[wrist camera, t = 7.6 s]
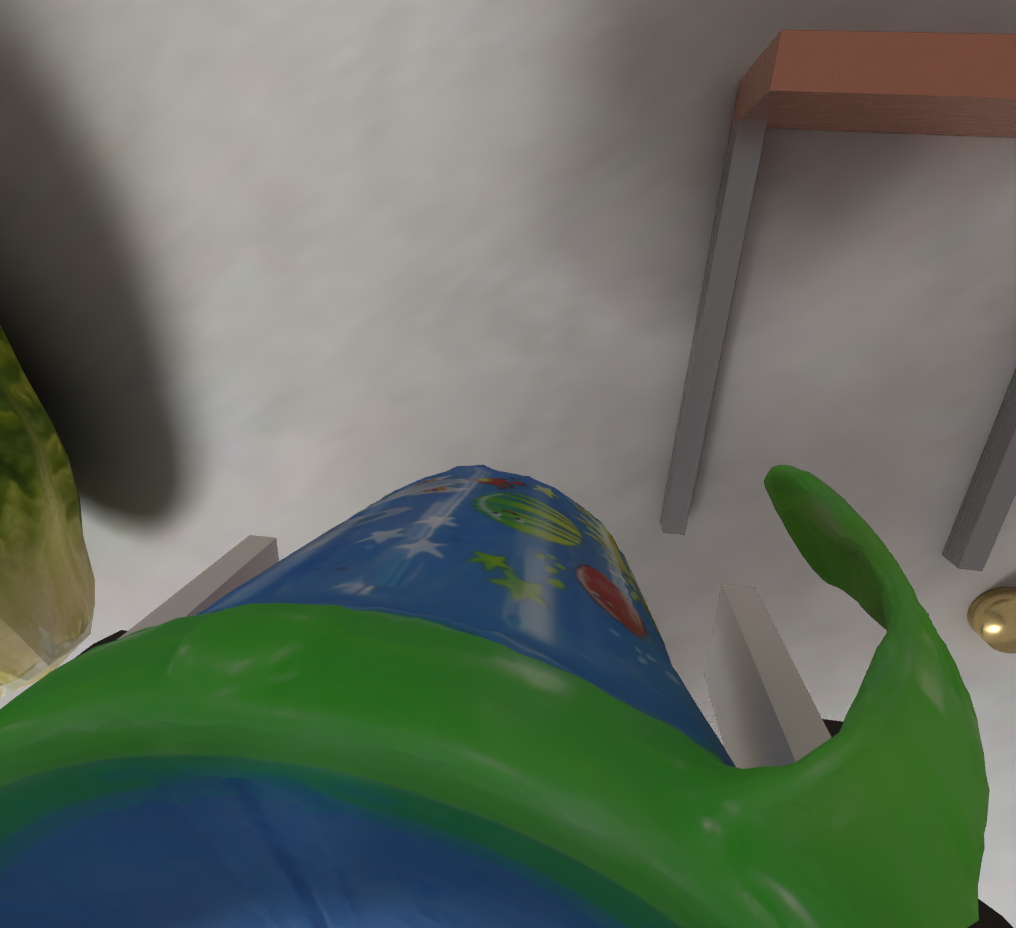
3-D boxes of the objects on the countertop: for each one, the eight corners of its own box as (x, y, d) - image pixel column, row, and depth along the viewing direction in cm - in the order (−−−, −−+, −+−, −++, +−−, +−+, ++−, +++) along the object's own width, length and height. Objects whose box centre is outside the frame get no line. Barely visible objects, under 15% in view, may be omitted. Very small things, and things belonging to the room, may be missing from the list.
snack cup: (693, 258, 12) (1159, 222, 2) (854, 645, 14) (1407, 1434, 5) (171, 534, 16) (-449, 930, 6) (365, 793, 18) (126, 1356, 9)
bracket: (660, 521, 27) (673, 575, 23) (739, 80, 21) (781, 30, 16) (965, 557, 26) (1047, 623, 21) (1158, 92, 19) (1340, 39, 14)
